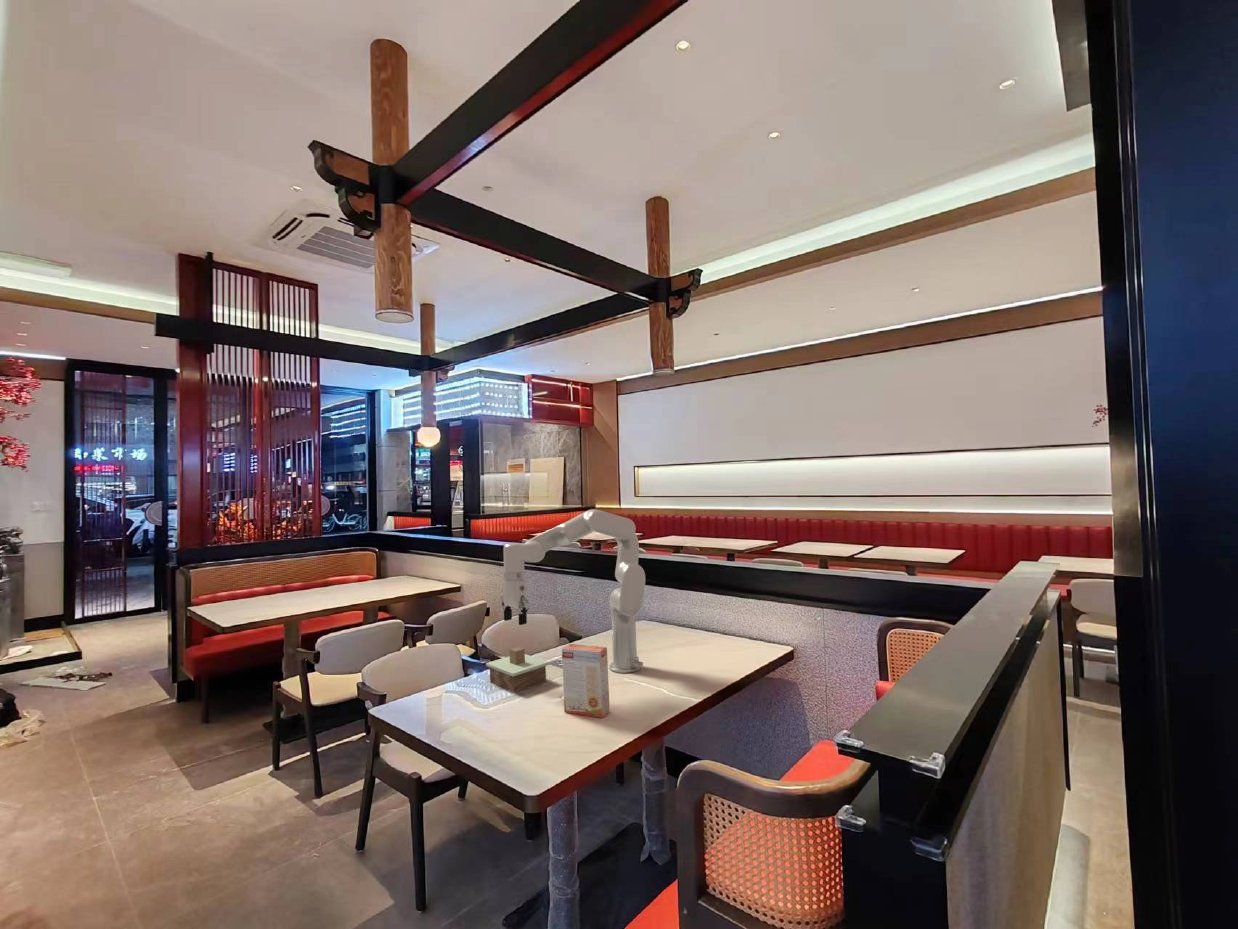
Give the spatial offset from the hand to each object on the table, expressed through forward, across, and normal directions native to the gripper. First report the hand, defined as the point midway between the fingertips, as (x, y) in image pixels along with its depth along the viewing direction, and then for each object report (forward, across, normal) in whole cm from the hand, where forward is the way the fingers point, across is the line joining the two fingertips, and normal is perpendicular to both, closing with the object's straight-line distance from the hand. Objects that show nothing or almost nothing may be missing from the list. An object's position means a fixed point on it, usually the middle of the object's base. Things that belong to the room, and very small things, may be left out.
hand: (515, 622), depth 208 cm
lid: (+16, 0, 0) cm, 16 cm away
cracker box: (+23, -39, 0) cm, 46 cm away
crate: (+23, 0, 0) cm, 23 cm away
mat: (+23, 0, -20) cm, 30 cm away
